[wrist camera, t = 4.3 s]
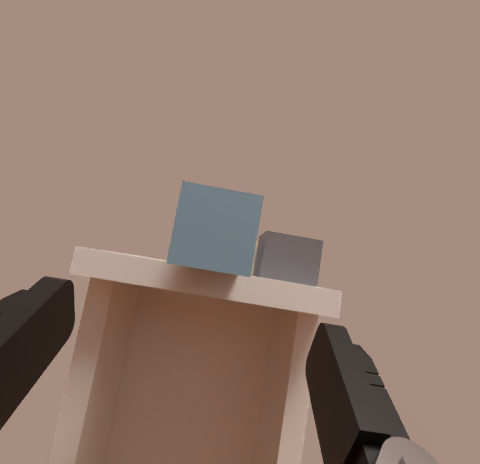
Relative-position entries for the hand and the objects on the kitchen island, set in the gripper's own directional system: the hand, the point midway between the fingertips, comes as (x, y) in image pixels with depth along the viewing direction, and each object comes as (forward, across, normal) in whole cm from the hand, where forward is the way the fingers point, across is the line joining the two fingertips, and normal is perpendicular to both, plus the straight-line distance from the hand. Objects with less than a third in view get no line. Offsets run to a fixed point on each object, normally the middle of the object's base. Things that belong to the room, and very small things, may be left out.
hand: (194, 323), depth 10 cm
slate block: (+14, 0, +6) cm, 15 cm away
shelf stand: (+3, 0, +37) cm, 37 cm away
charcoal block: (+17, -6, +8) cm, 20 cm away
